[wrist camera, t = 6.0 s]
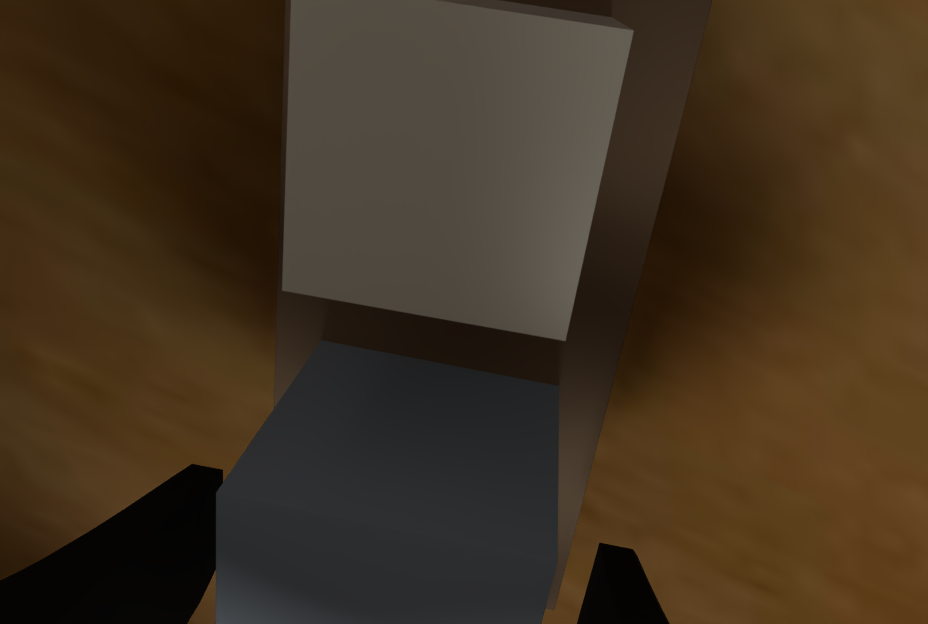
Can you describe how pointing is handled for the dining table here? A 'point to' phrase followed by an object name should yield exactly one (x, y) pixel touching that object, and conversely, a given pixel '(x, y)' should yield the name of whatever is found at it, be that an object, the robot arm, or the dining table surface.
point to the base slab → (602, 274)
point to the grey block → (447, 155)
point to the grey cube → (393, 498)
